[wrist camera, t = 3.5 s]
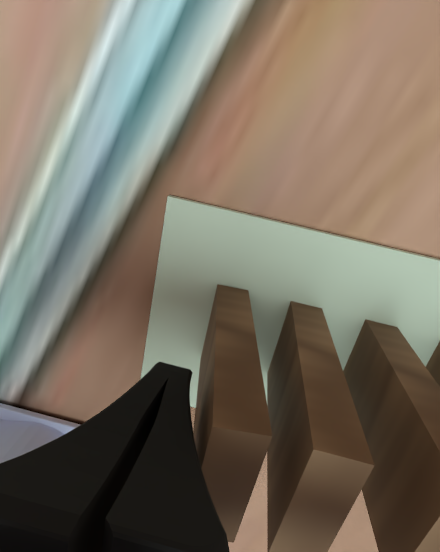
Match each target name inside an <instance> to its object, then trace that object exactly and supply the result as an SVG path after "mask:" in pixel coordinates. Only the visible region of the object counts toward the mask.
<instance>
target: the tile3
mask: <svg viewBox="0 0 440 552" xmlns="http://www.w3.org/2000/svg"><path fill="white" fill-rule="evenodd" d="M343 372H344V375H345V378H346V381H347V384H348V387H349V390H350V393H351V396H352V399H353V402H354V405H355V408H356V411H357V414H358V417H359V420H360V423H361V426H362V429H363V432H364V435H365V438H366V441H367V444H368V447H369V450H370V453H371V456H372V459H373V462H374V465H375V466H374V468H373V469H372V471H371V473H370V475H369V477H368V478H367V480H366V482H365V484H364V486H363V488H362V492H363V496H364V499H365V503H366V506H367V510H368V514H369V517H370V521H371V525H372V528H373V532H374V536H375V539H376V543H377V547H378V550H379V552H440V387H439V385H438V384H437V382H436V381H435V380H434V378H433V377H432V375H431V374H430V372H429V371H428V370H427V368H426V367H425V365H424V364H423V363H422V361H421V360H420V358H419V357H418V356H417V354H416V353H415V351H414V350H413V349H412V347H411V346H410V344H409V343H408V341H407V340H406V339H405V337H404V336H403V334H402V333H401V332H400V330H399V329H398V327H395V326H391V325H387V324H383V323H379V322H375V321H371V320H367V319H365V321H364V324H363V326H362V328H361V331H360V333H359V335H358V338H357V340H356V342H355V345H354V347H353V349H352V351H351V354H350V356H349V358H348V361H347V363H346V365H345V368H344V370H343Z"/></svg>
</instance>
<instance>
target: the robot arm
mask: <svg viewBox="0 0 440 552" xmlns="http://www.w3.org/2000/svg"><path fill="white" fill-rule="evenodd" d="M191 377H192V371H191V370H190V369H187V368H183V367H179V366H175V365H171V364H167V363H163V362H158V363H156V364H155V365H154V366H153V368H152V369H151V370H150V371H149V372H148V373H147V374H146V375H145V376H144V377H143V378H142V379H140V380H139V381H138V382H137V383H136V384H135V385H134V386H133V387H132V388H130V389H129V390H128V391H127V392H126V393H125V394H123V395H122V396H121V397H120V398H118V399H117V400H116V401H115V402H113V403H112V404H111V405H109V406H108V407H107V408H105V409H104V410H103V411H101V412H100V413H98V414H97V415H95V416H94V417H92V418H91V419H89V420H88V421H86V422H85V423H83V424H81V425H80V424H77V423H73V422H69V421H65V420H62V419H58V418H54V417H51V416H47V415H43V414H39V413H36V412H32V411H28V410H24V409H21V408H17V407H13V406H10V405H6V404H2V403H0V552H229V547H228V540H227V534H226V532H225V530H224V528H223V525H222V523H221V521H220V519H219V516H218V514H217V512H216V509H215V507H214V504H213V502H212V499H211V496H210V494H209V491H208V488H207V485H206V482H205V479H204V476H203V473H202V469H201V466H200V462H199V458H198V454H197V450H196V445H195V440H194V435H193V428H192V421H191V411H190V382H191Z"/></svg>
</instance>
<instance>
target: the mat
mask: <svg viewBox="0 0 440 552" xmlns="http://www.w3.org/2000/svg"><path fill="white" fill-rule="evenodd" d="M217 284H218V285H224V286H229V287H234V288H239V289H244V290H248V291H249V297H250V303H251V309H252V316H253V322H254V328H255V334H256V340H257V346H258V352H259V358H260V364H261V370H262V376H263V382H264V388H265V395H266V401H267V373H268V370H269V366H270V363H271V360H272V357H273V354H274V351H275V348H276V345H277V342H278V339H279V336H280V333H281V330H282V327H283V323H284V320H285V317H286V314H287V311H288V308H289V305H290V302H291V301H294V302H298V303H302V304H306V305H310V306H314V307H318V308H322V310H323V313H324V316H325V319H326V322H327V325H328V328H329V331H330V334H331V337H332V340H333V343H334V345H335V348H336V351H337V354H338V357H339V360H340V363H341V366H342V369H343V370H344V368H345V365H346V363H347V361H348V358H349V356H350V354H351V351H352V349H353V347H354V345H355V342H356V340H357V338H358V335H359V333H360V331H361V328H362V326H363V324H364V321H365V319H367V320H371V321H375V322H379V323H383V324H387V325H391V326H395V327H398V329H399V330H400V332H401V333H402V334H403V336H404V337H405V339H406V340H407V341H408V343H409V344H410V346H411V347H412V349H413V350H414V351H415V353H416V354H417V356H418V357H419V358H420V360H421V361H422V363H423V364H424V365H425V367H426V365H427V363H428V361H429V360H430V358H431V356H432V354H433V352H434V350H435V349H436V347H437V345H438V343H439V341H440V259H438V258H434V257H429V256H425V255H421V254H417V253H413V252H408V251H404V250H400V249H396V248H391V247H387V246H383V245H379V244H375V243H370V242H366V241H362V240H358V239H353V238H349V237H345V236H341V235H337V234H332V233H328V232H324V231H320V230H316V229H311V228H307V227H303V226H299V225H294V224H290V223H286V222H282V221H278V220H273V219H269V218H265V217H261V216H256V215H252V214H248V213H244V212H240V211H235V210H231V209H227V208H223V207H219V206H214V205H210V204H206V203H202V202H197V201H193V200H189V199H185V198H181V197H176V196H172V195H169V196H168V197H167V204H166V211H165V218H164V224H163V231H162V238H161V244H160V251H159V258H158V265H157V271H156V278H155V285H154V292H153V298H152V305H151V312H150V319H149V325H148V332H147V339H146V345H145V352H144V359H143V366H142V372H141V379H142V378H143V377H144V376H145V375H146V374H147V373H148V372H149V371H150V370H151V369H152V368H153V366H154V365H155V364H156V363H158V362H163V363H167V364H171V365H175V366H179V367H183V368H187V369H190V370H191V371H192V377H191V382H190V407H194V408H196V400H197V390H198V380H199V369H200V359H201V354H202V350H203V345H204V341H205V337H206V332H207V328H208V323H209V319H210V315H211V310H212V306H213V301H214V297H215V293H216V288H217Z"/></svg>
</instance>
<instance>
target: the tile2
mask: <svg viewBox="0 0 440 552" xmlns="http://www.w3.org/2000/svg"><path fill="white" fill-rule="evenodd" d="M267 407H268V413H269V419H270V425H271V431H272V439H271V442H270V444H269V447H268V450H267V476H268V552H327V551H328V550H329V548H330V546H331V544H332V542H333V541H334V539H335V537H336V535H337V533H338V531H339V530H340V528H341V526H342V524H343V522H344V520H345V519H346V517H347V515H348V513H349V511H350V510H351V508H352V506H353V504H354V502H355V500H356V499H357V497H358V495H359V493H360V491H361V489H362V488H363V486H364V484H365V482H366V480H367V478H368V477H369V475H370V473H371V471H372V469H373V468H374V466H375V465H374V462H373V459H372V456H371V453H370V450H369V447H368V444H367V441H366V438H365V435H364V432H363V429H362V426H361V423H360V420H359V417H358V414H357V411H356V408H355V405H354V402H353V399H352V396H351V393H350V390H349V387H348V384H347V381H346V378H345V375H344V372H343V369H342V366H341V363H340V360H339V357H338V354H337V351H336V348H335V345H334V343H333V340H332V337H331V334H330V331H329V328H328V325H327V322H326V319H325V316H324V313H323V310H322V308H318V307H314V306H310V305H306V304H302V303H298V302H294V301H291V302H290V305H289V308H288V311H287V314H286V317H285V320H284V323H283V327H282V330H281V333H280V336H279V339H278V342H277V345H276V348H275V351H274V354H273V357H272V360H271V363H270V366H269V370H268V373H267Z"/></svg>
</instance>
